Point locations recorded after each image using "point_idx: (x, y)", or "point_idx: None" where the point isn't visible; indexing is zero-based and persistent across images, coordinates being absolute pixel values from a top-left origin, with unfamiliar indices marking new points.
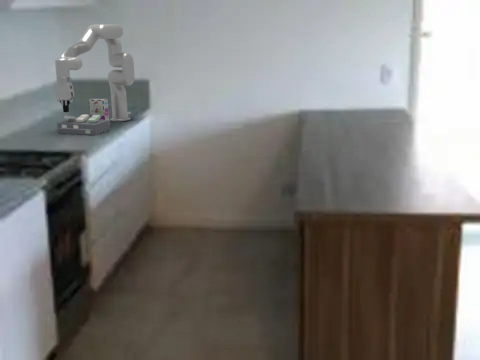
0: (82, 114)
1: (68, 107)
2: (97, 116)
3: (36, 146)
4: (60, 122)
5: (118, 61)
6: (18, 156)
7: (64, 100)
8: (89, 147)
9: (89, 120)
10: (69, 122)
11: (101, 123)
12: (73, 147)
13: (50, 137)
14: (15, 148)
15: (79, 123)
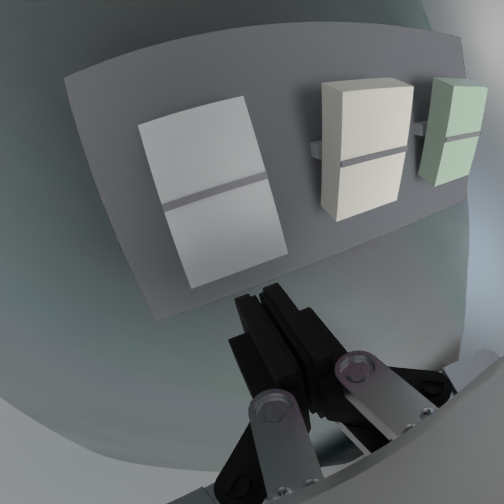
0: (346, 94)
1: (331, 338)
2: (478, 112)
3: (316, 422)
4: (162, 291)
5: None
6: (347, 450)
7: (309, 478)
8: (460, 319)
9: (443, 181)
10: None
11: None
12: (427, 350)
13: (232, 356)
14: None
15: (369, 220)
